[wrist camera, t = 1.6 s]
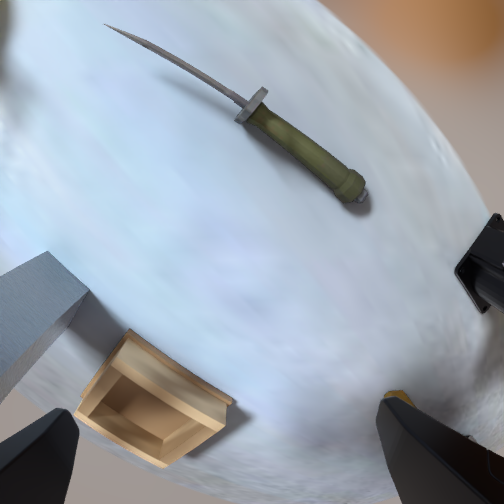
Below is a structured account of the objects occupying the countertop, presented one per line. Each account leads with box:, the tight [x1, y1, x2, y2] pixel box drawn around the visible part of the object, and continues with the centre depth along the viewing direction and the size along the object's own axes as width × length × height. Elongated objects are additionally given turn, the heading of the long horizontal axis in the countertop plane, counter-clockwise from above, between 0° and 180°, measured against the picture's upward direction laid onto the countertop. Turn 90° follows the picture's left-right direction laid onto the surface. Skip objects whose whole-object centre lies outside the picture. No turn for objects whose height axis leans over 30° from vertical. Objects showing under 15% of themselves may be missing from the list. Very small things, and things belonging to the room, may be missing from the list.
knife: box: [104, 24, 368, 203], centre depth 14 cm, size 19×2×5 cm, turn 55°
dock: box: [74, 329, 232, 469], centre depth 21 cm, size 10×10×3 cm
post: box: [0, 251, 89, 404], centre depth 14 cm, size 4×4×12 cm
